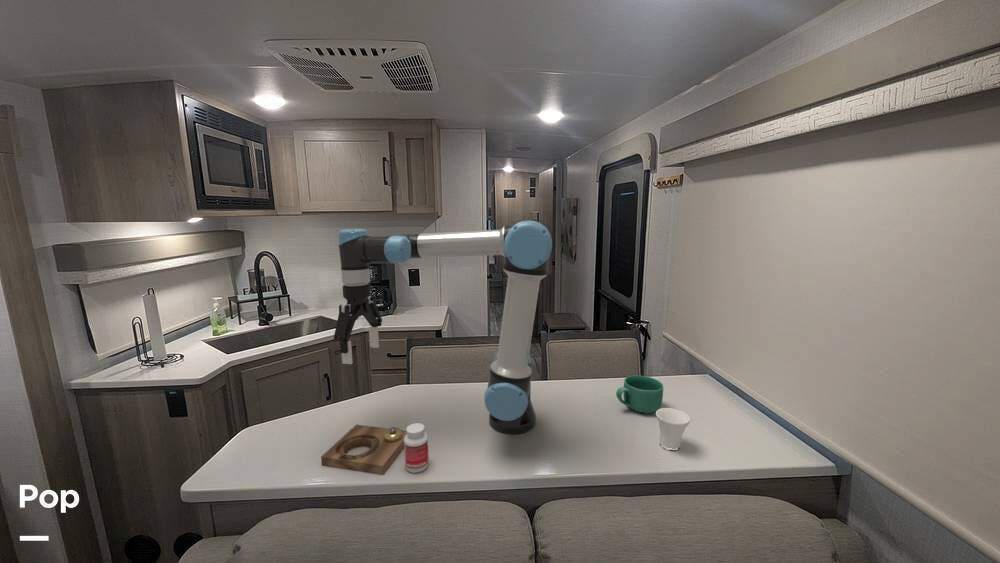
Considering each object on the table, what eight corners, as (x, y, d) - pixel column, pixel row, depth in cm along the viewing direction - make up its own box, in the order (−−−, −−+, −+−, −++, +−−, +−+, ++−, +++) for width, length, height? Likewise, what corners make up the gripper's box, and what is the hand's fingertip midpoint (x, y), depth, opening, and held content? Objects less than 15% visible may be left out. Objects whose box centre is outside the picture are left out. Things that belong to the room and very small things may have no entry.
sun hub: (405, 433, 108) (404, 425, 108) (397, 443, 103) (396, 434, 103) (389, 431, 109) (389, 423, 109) (380, 441, 104) (380, 432, 104)
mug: (647, 398, 135) (649, 373, 134) (669, 415, 123) (671, 388, 122) (606, 402, 132) (607, 377, 130) (624, 420, 120) (626, 393, 118)
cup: (646, 442, 108) (648, 410, 107) (669, 434, 112) (671, 404, 110) (670, 459, 100) (673, 425, 98) (694, 451, 104) (697, 418, 102)
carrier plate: (410, 439, 110) (410, 431, 109) (383, 474, 94) (382, 465, 94) (356, 432, 113) (356, 424, 113) (321, 465, 98) (321, 456, 97)
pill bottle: (432, 468, 97) (431, 429, 95) (409, 477, 93) (408, 437, 92) (423, 455, 102) (422, 419, 100) (401, 463, 98) (400, 425, 97)
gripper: (369, 277, 117) (373, 340, 121) (314, 291, 93) (321, 370, 97) (390, 277, 116) (394, 342, 119) (339, 292, 92) (346, 372, 95)
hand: (361, 354), depth 108 cm, fingers open, 13 cm apart
